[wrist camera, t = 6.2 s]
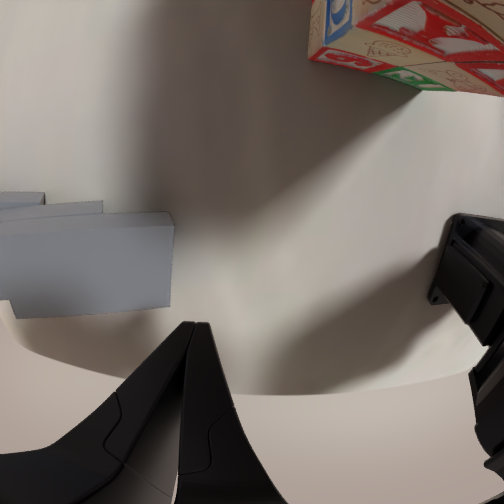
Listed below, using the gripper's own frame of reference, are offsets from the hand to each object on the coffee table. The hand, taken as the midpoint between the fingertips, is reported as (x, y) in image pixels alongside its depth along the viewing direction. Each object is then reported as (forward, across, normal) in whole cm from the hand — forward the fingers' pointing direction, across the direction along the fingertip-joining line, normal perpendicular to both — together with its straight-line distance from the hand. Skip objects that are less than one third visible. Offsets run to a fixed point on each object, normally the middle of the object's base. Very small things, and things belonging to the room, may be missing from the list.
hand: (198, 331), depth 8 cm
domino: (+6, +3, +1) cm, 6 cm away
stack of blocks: (+7, -8, -19) cm, 22 cm away
